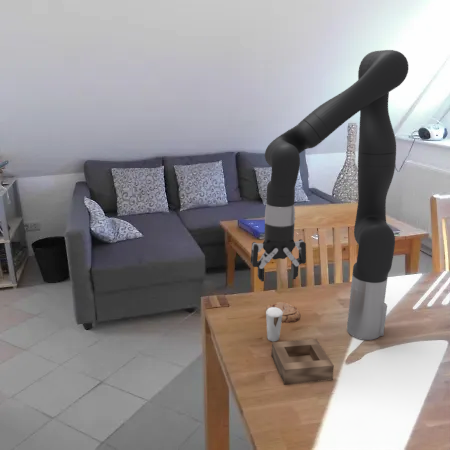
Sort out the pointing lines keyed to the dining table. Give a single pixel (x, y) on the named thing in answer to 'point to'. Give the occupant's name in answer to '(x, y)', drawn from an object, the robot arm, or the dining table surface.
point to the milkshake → (273, 323)
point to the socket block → (301, 361)
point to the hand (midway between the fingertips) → (277, 279)
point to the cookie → (287, 312)
